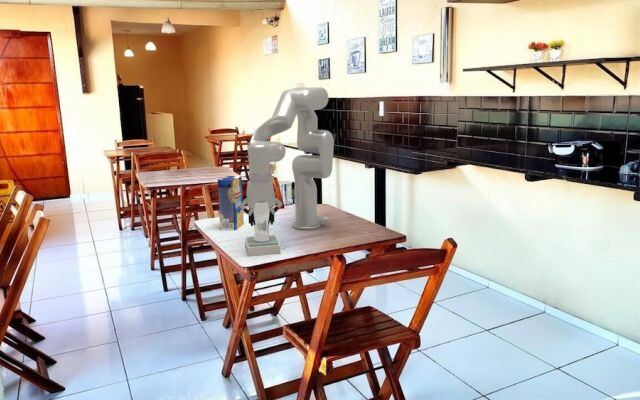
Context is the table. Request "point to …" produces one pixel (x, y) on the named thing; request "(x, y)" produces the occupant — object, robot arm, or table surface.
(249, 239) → the base
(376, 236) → the table surface
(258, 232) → the beer glass
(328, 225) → the table surface
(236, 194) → the beverage box
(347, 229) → the table surface
